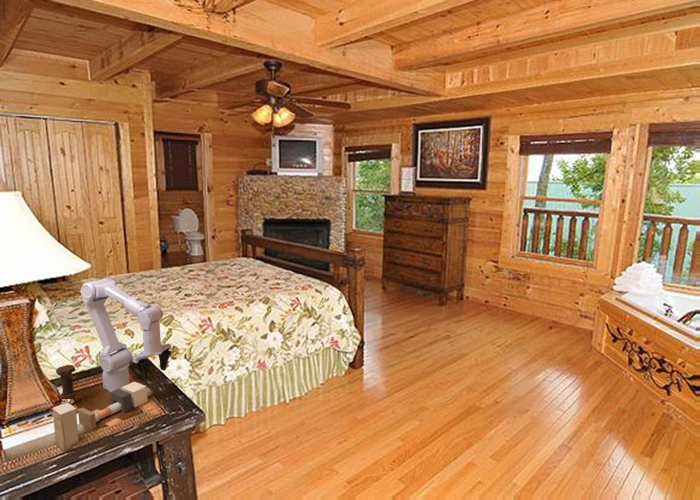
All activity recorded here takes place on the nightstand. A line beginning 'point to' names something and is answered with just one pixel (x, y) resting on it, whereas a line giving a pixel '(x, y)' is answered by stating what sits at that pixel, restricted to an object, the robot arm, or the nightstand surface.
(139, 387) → the sleeve
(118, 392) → the dark grey block
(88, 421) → the pipe clamp
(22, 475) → the nightstand surface
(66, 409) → the skincare box
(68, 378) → the bolt
